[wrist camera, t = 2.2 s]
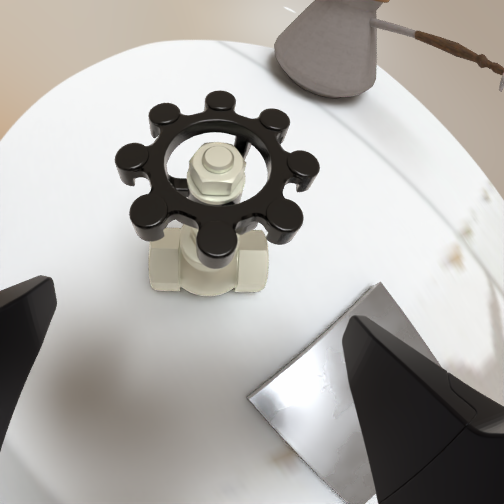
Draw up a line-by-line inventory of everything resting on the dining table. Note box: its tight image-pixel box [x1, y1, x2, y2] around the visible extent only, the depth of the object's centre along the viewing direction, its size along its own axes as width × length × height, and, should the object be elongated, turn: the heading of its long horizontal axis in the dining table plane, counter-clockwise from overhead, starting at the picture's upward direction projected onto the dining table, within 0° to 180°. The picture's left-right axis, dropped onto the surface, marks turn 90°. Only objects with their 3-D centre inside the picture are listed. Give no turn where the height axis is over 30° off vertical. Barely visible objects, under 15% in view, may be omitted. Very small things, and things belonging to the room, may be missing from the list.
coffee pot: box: [274, 0, 504, 98], centre depth 22 cm, size 21×12×15 cm, turn 39°
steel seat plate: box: [247, 282, 441, 504], centre depth 18 cm, size 12×12×1 cm
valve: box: [115, 91, 320, 296], centre depth 15 cm, size 7×7×12 cm
